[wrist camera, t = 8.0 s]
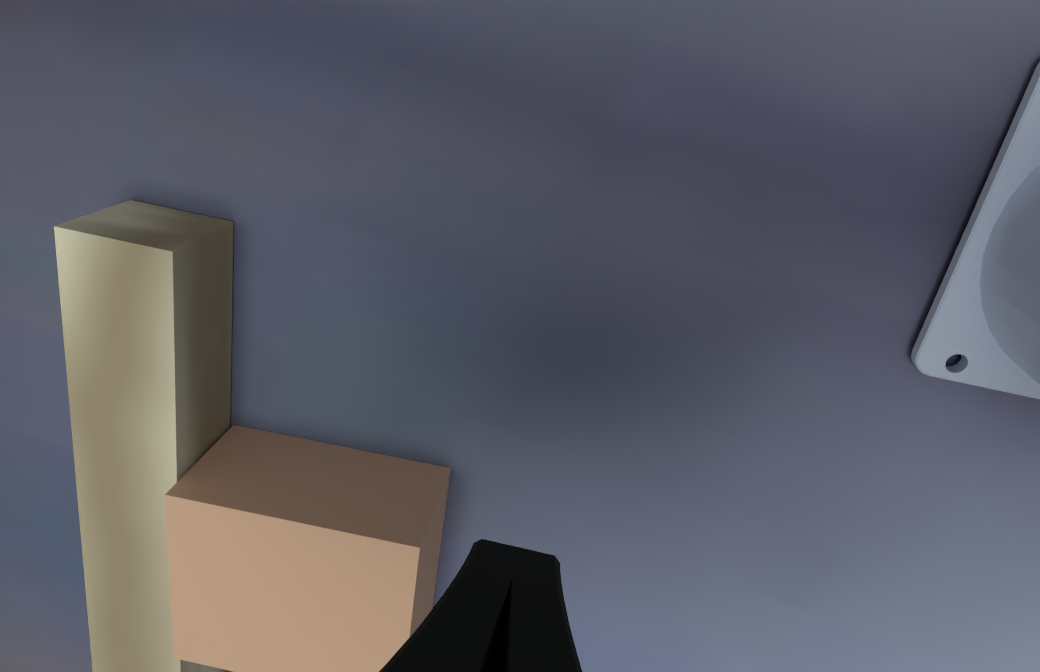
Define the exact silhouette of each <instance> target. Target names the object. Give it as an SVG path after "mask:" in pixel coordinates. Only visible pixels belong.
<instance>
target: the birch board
mask: <svg viewBox="0 0 1040 672" xmlns="http://www.w3.org/2000/svg"><path fill="white" fill-rule="evenodd" d="M233 224H234V222H233V221H228V220H223V219H219V218H214V217H209V216H205V215H200V214H195V213H190V212H186V211H181V210H176V209H171V208H167V207H162V206H157V205H153V204H148V203H143V202H138V201H134V200H129V201H126V202H123V203H120V204H117V205H114V206H111V207H109V208H106V209H103V210H100V211H97V212H94V213H91V214H88V215H85V216H82V217H80V218H77V219H74V220H71V221H68V222H65V223H62V224H59V225H56V226H54V232H55V243H56V255H57V266H58V278H59V289H60V301H61V312H62V324H63V335H64V347H65V358H66V370H67V381H68V393H69V404H70V416H71V427H72V439H73V450H74V462H75V473H76V485H77V496H78V508H79V519H80V531H81V542H82V553H83V565H84V576H85V588H86V599H87V611H88V622H89V634H90V645H91V657H92V668H93V672H226V670H225V669H220V668H216V667H211V666H207V665H202V664H198V663H193V662H189V661H184V660H180V659H175V658H174V644H173V627H172V610H171V593H170V576H169V559H168V542H167V525H166V508H165V494H166V493H167V492H168V491H169V490H170V489H171V488H172V487H173V486H174V485H175V484H176V483H177V482H178V481H179V480H180V479H181V478H182V477H183V476H184V475H185V474H186V473H187V472H188V471H189V470H190V469H191V468H192V467H193V466H194V465H195V463H196V462H197V461H198V460H199V459H200V458H201V457H202V456H203V455H204V454H205V453H206V452H207V451H208V450H209V449H210V448H211V447H212V446H213V445H214V444H215V443H216V442H217V441H218V440H219V439H220V438H221V437H222V436H223V435H224V434H225V433H226V432H227V431H228V430H229V429H230V408H231V347H232V286H233Z"/></svg>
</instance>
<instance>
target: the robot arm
mask: <svg viewBox="0 0 1040 672" xmlns="http://www.w3.org/2000/svg"><path fill="white" fill-rule="evenodd" d="M955 354H961V360H960V361H959V362H958V363H957V364H955V365H953V366H946V361H947V360H948V359H949V357H951V356H953V355H955ZM911 359H912V362H913V364H914V365H915V366H916V367H917V369H918V370H919V371H920V372H921V373H923V374H925V375H928V376H931V377H936V378H941V379H946V380H950V381H955V382H960V383H965V384H969V385H974V386H979V387H983V388H988V389H993V390H998V391H1002V392H1007V393H1012V394H1016V395H1021V396H1026V397H1031V398H1035V399H1040V62H1039V64H1038V65H1037V67H1036V69H1035V71H1034V73H1033V76H1032V78H1031V80H1030V83H1029V85H1028V87H1027V89H1026V92H1025V94H1024V96H1023V99H1022V101H1021V103H1020V105H1019V108H1018V110H1017V112H1016V114H1015V117H1014V119H1013V121H1012V124H1011V126H1010V128H1009V130H1008V133H1007V135H1006V137H1005V140H1004V142H1003V144H1002V146H1001V149H1000V151H999V153H998V156H997V158H996V160H995V162H994V165H993V167H992V169H991V172H990V174H989V176H988V178H987V181H986V183H985V185H984V187H983V190H982V192H981V194H980V197H979V199H978V201H977V203H976V206H975V208H974V210H973V213H972V215H971V217H970V219H969V222H968V224H967V226H966V229H965V231H964V233H963V235H962V238H961V240H960V242H959V245H958V247H957V249H956V251H955V254H954V256H953V258H952V261H951V263H950V265H949V267H948V270H947V272H946V274H945V276H944V279H943V281H942V283H941V286H940V288H939V290H938V292H937V295H936V297H935V299H934V302H933V304H932V306H931V308H930V311H929V313H928V315H927V318H926V320H925V322H924V324H923V327H922V329H921V331H920V334H919V336H918V338H917V340H916V343H915V345H914V347H913V349H912V354H911ZM379 672H582V670H581V666H580V663H579V659H578V656H577V652H576V648H575V645H574V641H573V638H572V634H571V630H570V626H569V621H568V616H567V612H566V607H565V602H564V596H563V591H562V584H561V575H560V563H559V561H558V560H557V558H556V557H555V556H554V555H549V554H545V553H541V552H536V551H532V550H528V549H523V548H519V547H515V546H510V545H506V544H501V543H497V542H493V541H488V540H484V539H481V540H479V541H477V542H475V543H474V544H473V546H472V548H471V551H470V553H469V555H468V557H467V558H466V560H465V562H464V564H463V565H462V567H461V569H460V570H459V572H458V574H457V575H456V577H455V578H454V580H453V581H452V583H451V584H450V586H449V587H448V589H447V590H446V591H445V593H444V594H443V596H442V597H441V598H440V600H439V601H438V602H437V604H436V605H435V606H434V607H433V609H432V610H431V611H430V613H429V614H428V615H427V617H426V618H425V619H424V621H423V622H422V623H421V624H420V626H419V627H418V628H417V629H416V631H415V632H414V633H413V634H412V635H411V636H410V637H409V639H408V640H407V641H406V642H405V643H404V644H403V645H402V647H401V648H400V649H399V650H398V651H397V652H396V653H395V654H394V656H393V657H392V658H391V659H390V660H389V661H388V662H387V664H386V665H385V666H384V667H383V668H382V669H381V670H380V671H379Z"/></svg>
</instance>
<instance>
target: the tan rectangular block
mask: <svg viewBox="0 0 1040 672" xmlns="http://www.w3.org/2000/svg"><path fill="white" fill-rule="evenodd" d="M450 471H451V468H448V467H443V466H438V465H433V464H428V463H423V462H418V461H413V460H408V459H403V458H398V457H393V456H388V455H383V454H378V453H373V452H368V451H363V450H358V449H353V448H348V447H343V446H338V445H333V444H328V443H323V442H318V441H313V440H308V439H303V438H298V437H293V436H288V435H283V434H278V433H273V432H268V431H263V430H258V429H253V428H248V427H243V426H238V425H233V426H232V427H231V428H230V429H229V430H228V431H227V432H226V433H225V434H224V435H223V436H222V437H221V438H220V439H219V440H218V441H217V442H216V443H215V444H214V445H213V446H212V447H211V448H210V449H209V450H208V451H207V452H206V453H205V454H204V455H203V456H202V457H201V458H200V459H199V460H198V461H197V462H196V463H195V465H194V466H193V467H192V468H191V469H190V470H189V471H188V472H187V473H186V474H185V475H184V476H183V477H182V478H181V479H180V480H179V481H178V482H177V483H176V484H175V485H174V486H173V487H172V488H171V489H170V490H169V491H168V492H167V493H166V494H165V508H166V525H167V542H168V559H169V576H170V593H171V610H172V627H173V644H174V658H175V659H180V660H184V661H189V662H193V663H198V664H202V665H207V666H211V667H216V668H220V669H225V670H229V671H234V672H379V671H380V670H381V669H382V668H383V667H384V666H385V665H386V664H387V662H388V661H389V660H390V659H391V658H392V657H393V656H394V654H395V653H396V652H397V651H398V650H399V649H400V648H401V647H402V645H403V644H404V643H405V642H406V641H407V640H408V639H409V637H410V636H411V635H412V634H413V633H414V632H415V631H416V629H417V628H418V627H419V626H420V624H421V623H422V622H423V621H424V619H425V618H426V617H427V615H428V614H429V613H430V611H431V610H432V609H433V601H434V594H435V586H436V578H437V571H438V563H439V555H440V548H441V540H442V532H443V525H444V517H445V510H446V502H447V494H448V487H449V479H450Z"/></svg>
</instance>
